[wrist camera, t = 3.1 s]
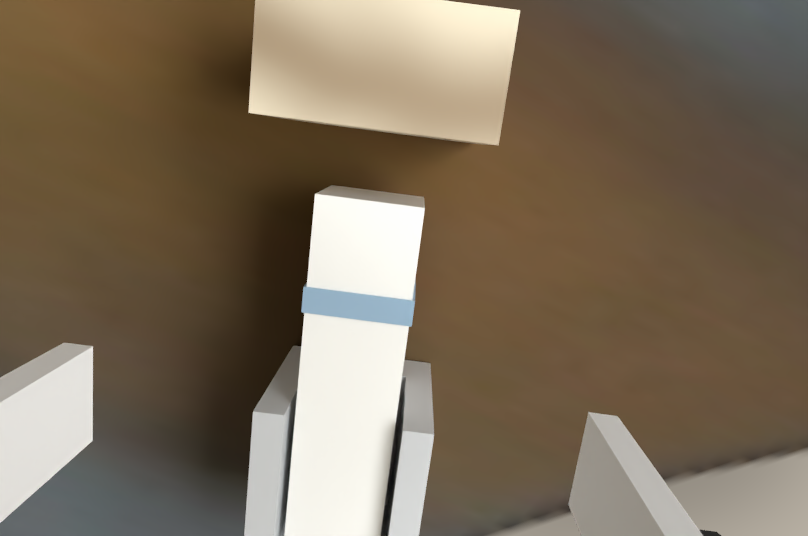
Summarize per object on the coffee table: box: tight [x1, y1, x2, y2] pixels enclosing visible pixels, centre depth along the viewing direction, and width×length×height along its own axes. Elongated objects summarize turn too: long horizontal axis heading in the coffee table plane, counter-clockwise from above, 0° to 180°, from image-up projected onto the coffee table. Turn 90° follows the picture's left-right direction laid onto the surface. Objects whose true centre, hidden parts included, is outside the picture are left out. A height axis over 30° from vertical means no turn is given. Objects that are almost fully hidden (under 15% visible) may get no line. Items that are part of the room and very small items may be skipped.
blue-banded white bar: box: [284, 185, 425, 536], centre depth 24 cm, size 15×4×4 cm, turn 173°
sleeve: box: [244, 346, 434, 536], centre depth 26 cm, size 8×7×7 cm
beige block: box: [249, 0, 520, 145], centre depth 21 cm, size 4×8×8 cm, turn 83°
